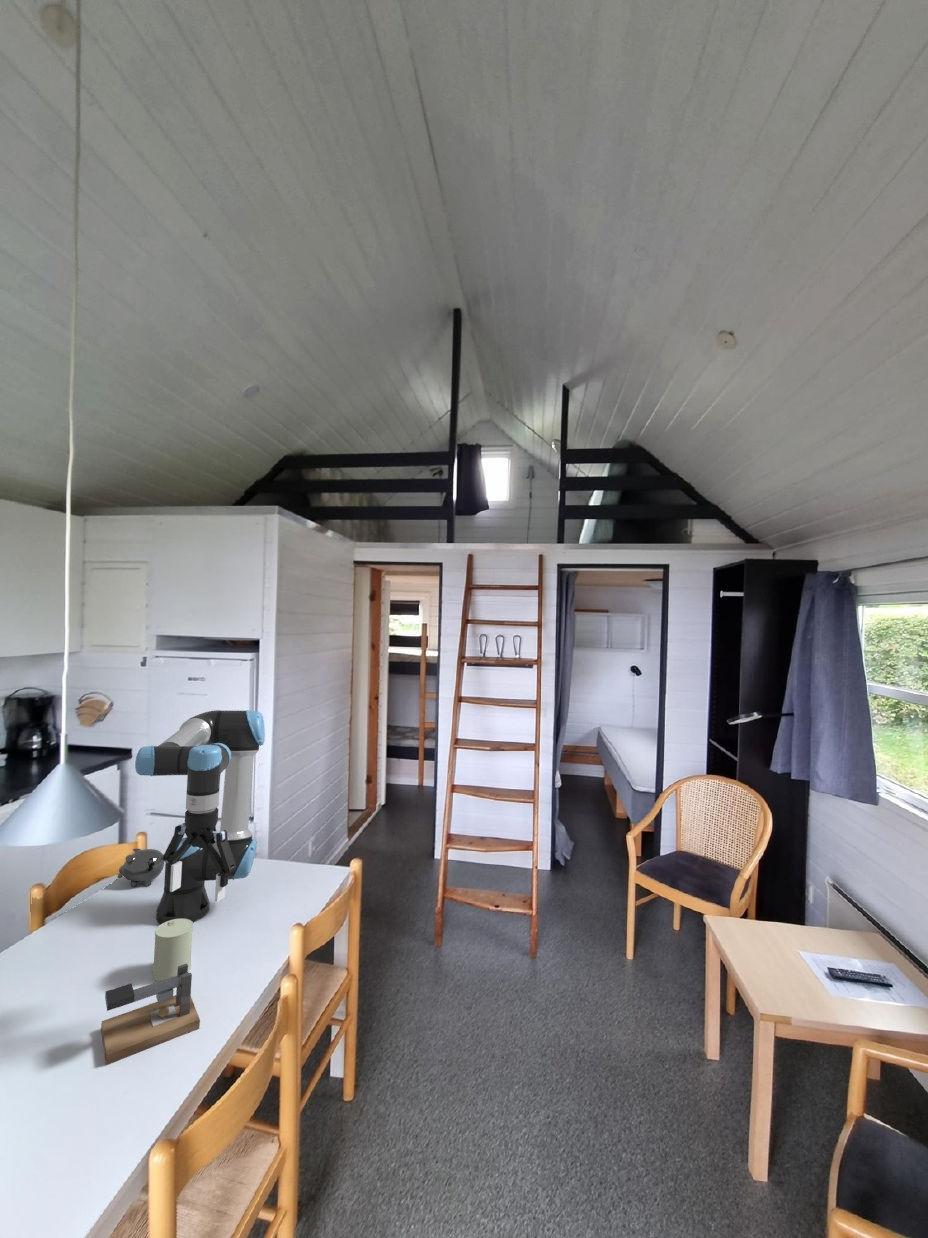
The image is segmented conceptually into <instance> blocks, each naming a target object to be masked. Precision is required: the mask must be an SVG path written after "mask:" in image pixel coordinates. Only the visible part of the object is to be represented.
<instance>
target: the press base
mask: <svg viewBox="0 0 928 1238" xmlns="http://www.w3.org/2000/svg"><path fill="white" fill-rule="evenodd" d="M183 971H188V964H187V963H186V964H183V965H180V966H178V973H177V975H179V974H180V973H181V972H183ZM192 976H193V974H192V972H188V974H185V975H182V976H181V986H180V987H177V988H176V991H175V992H176V994H175V995H173V999H171V1000H168V1001H165V1002H162V1003H159V1004H158V1001H155V1002H153V1003H149V1004H147V1005H144V1006H141V1007H139V1008H135V1009H133V1010H129V1011H127V1012H124V1013H121V1014H118V1015H116V1016H115V1015H114V1016H113V1017H110V1018H107V1019H104V1020H102V1021H101V1023H100V1024H101V1027H100V1031H101V1038H102V1046H103V1053H104V1059H105V1066H107V1065H110V1064H114V1063H115V1062H118V1061H120V1060H123V1059H125V1058H128V1057H130V1056H133V1055H136V1054H138V1053H141V1052H143V1051H146V1050H148V1049H151V1048H153V1047H156V1046H159V1045H160V1044H161V1045H162V1044H163V1043H166V1042H168V1041H172V1040H174V1039H176V1038H178V1037H181V1036H183V1035H186V1034H189V1033H191V1032H193V1031H196V1030H198V1029H200V1024H201V1023H200V1022H201V1019H200V1017H199V1014H198V1012H197V1011H198V1010H197V1009H196V1006H195V1004H194V1003H195V1002H194V1001H193V998H192V996H191V995H192V980H193V979H192V978H193V977H192Z"/></svg>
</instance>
